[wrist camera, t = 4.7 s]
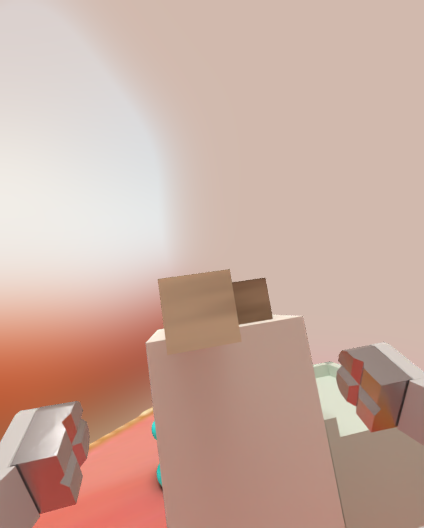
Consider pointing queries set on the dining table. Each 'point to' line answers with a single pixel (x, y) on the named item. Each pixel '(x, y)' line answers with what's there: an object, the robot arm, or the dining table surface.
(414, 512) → the low shelf
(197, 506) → the tall stand
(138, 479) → the dining table surface
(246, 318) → the walnut bar
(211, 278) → the maple bar
